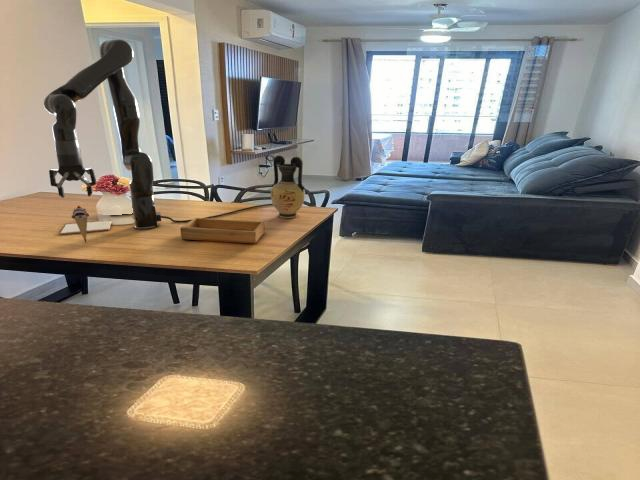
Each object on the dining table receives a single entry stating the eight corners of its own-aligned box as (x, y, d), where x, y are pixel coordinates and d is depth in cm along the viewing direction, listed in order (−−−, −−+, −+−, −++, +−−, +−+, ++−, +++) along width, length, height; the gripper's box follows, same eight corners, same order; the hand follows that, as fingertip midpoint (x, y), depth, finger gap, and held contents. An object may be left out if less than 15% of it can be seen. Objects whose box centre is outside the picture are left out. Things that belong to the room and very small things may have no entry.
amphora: (308, 212, 200) (308, 154, 190) (301, 221, 184) (301, 158, 175) (275, 210, 203) (274, 153, 193) (266, 219, 187) (264, 157, 177)
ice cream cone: (81, 246, 146) (74, 208, 141) (74, 243, 149) (66, 206, 144) (96, 242, 150) (90, 205, 146) (88, 239, 153) (82, 203, 148)
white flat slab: (111, 220, 179) (111, 219, 179) (108, 230, 165) (108, 229, 165) (66, 224, 172) (66, 223, 172) (60, 234, 158) (59, 233, 158)
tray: (264, 233, 166) (264, 220, 164) (255, 244, 152) (255, 231, 150) (196, 230, 168) (195, 217, 166) (181, 241, 154) (179, 227, 152)
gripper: (42, 154, 132) (52, 199, 138) (89, 153, 138) (96, 197, 143) (47, 152, 139) (56, 195, 144) (92, 151, 144) (99, 193, 150)
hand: (76, 196), depth 144 cm, fingers open, 8 cm apart
